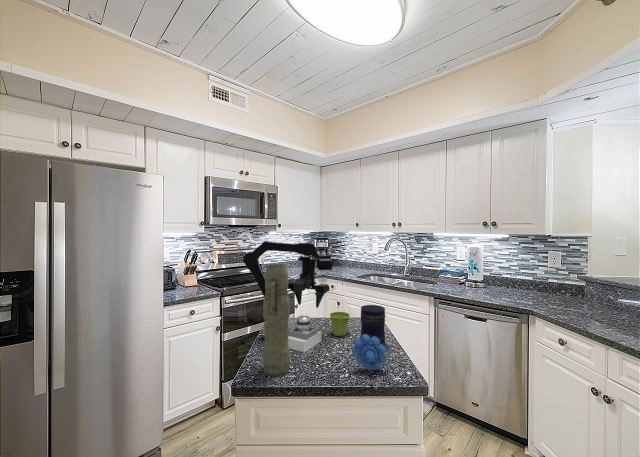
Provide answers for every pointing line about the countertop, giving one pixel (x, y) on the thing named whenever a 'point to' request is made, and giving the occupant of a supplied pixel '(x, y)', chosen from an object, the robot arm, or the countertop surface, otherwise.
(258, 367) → the countertop surface
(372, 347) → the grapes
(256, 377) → the countertop surface
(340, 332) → the plant pot
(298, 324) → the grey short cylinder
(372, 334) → the storage jar
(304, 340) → the grey open box
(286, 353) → the thermos
